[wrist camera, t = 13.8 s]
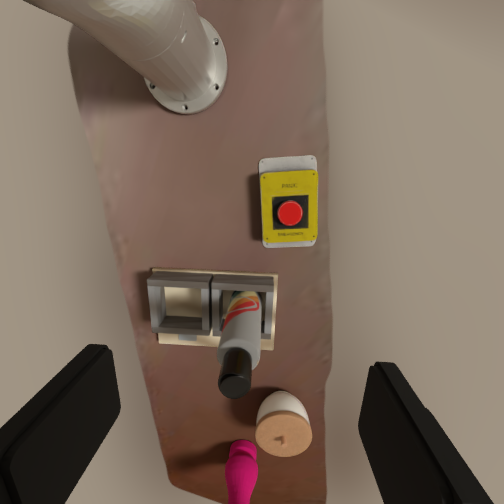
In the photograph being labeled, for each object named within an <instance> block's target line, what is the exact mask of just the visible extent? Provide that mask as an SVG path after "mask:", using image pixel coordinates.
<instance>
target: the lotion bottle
mask: <svg viewBox="0 0 504 504" xmlns="http://www.w3.org/2000/svg"><path fill="white" fill-rule="evenodd" d="M261 308H262V300H261V295H260V293H259V292H255V291H236V290H234V292H233V293H232V296H231V299H230V303H229V306H228V310H227V314H226V318H225V322H224V326H223V330H222V334H221V338H220V342H219V346H218V350H217V358H218V361H219V363H220V365H221V370H220V375H219V379H218V387H219V390H220V391H221V393H222V394H223V395H224V396H226V397H227V398H231V399H237V398H240V397H242V396H244V395H245V394H246V393H247V392H248V391H249V390H250V387H251V376H252V370H253V369H254V368H255V367H256V366H257V364H258V362H259V359H260V343H261Z"/></svg>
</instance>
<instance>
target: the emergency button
mask: <svg viewBox="0 0 504 504" xmlns="http://www.w3.org/2000/svg"><path fill="white" fill-rule="evenodd" d="M259 182H260V202H261V222H262V242H263V245H264V246H265V247H267V248H277V247H301V246H312V245H314V243H315V241H316V239H317V223H318V173H317V161H316V158H315V157H314V156H312V155H307V156H292V157H277V158H264V159H261V161H260V162H259Z"/></svg>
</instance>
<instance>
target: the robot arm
mask: <svg viewBox="0 0 504 504" xmlns="http://www.w3.org/2000/svg"><path fill="white" fill-rule="evenodd" d="M23 1H26V2H28V3H29V4H32V5H34V6H36V7H38V8H40V9H42V10H45V11H47V12H49V13H52V14H54V15H56V16H58V17H61V18H63V19H65V20H67V21H69V22H71V23H73V24H74V25H76V26H78V27H79V28H81V29H82V30H84V31H85V32H86V33H88V34H89V35H91V36H92V37H93V38H95V39H96V40H97V41H99V42H100V43H101V44H102V45H104V46H105V47H106V48H108V49H109V50H110V51H111V52H113V53H114V54H115V55H116V56H118V57H119V58H120V59H122V60H123V61H124V62H125V63H127V64H128V65H129V66H131V67H132V68H133V69H134V70H136V71H137V72H138V73H139V74H141V75H142V76H143V77H144V80H145V83H146V85H147V87H148V89H149V91H150V92H151V94H152V95H153V96H154V98H155V99H156V100H157V101H158V102H160V103H161V104H162V105H163V106H165V107H166V108H168V109H170V110H172V111H174V112H177V113H180V114H196V113H199V112H202V111H204V110H206V109H207V108H209V107H210V106H211V105H212V104H213V103H214V102H215V101H216V100H217V99H218V97H219V96H220V94H221V93H222V90H223V88H224V86H225V82H226V78H227V69H228V66H227V56H226V52H225V48H224V46H223V43H222V40H221V38H220V37H219V35H218V33H217V31H216V30H215V29H214V28H213V26H212V25H211V24H210V23H209V22H208V21H206V20H205V19H204V18H202V17H201V16H199V15H198V13H197V11H196V4H195V3H194V2H193V0H23ZM216 43H218V45H215V44H216ZM154 86H155V88H154ZM216 87H219V89H218V90H216ZM186 107H188V109H187V110H186V109H185V108H186ZM120 408H121V405H120V398H119V391H118V385H117V379H116V372H115V366H114V360H113V354H112V351H111V350H110V349H109V348H108V346H107V345H99V344H89V345H87V346H86V347H85V348H84V349H83V350H82V351H81V352H80V353H79V354H77V355H76V356H75V357H74V358H73V359H72V360H71V361H70V362H69V363H68V364H67V365H66V366H65V367H64V368H63V369H62V370H61V371H60V372H59V373H58V374H57V375H56V376H55V377H53V378H52V380H50V381H49V382H48V383H47V384H46V385H45V386H44V387H43V388H42V389H41V390H40V391H39V392H38V393H37V394H36V395H35V396H34V397H33V398H32V399H30V401H28V402H27V403H26V404H25V406H23V407H22V408H21V409H20V410H19V411H18V412H17V413H16V414H15V415H14V416H13V417H12V418H11V419H10V420H9V421H8V422H6V424H4V425H3V426H2V427H1V428H0V504H65V502H66V501H67V499H68V497H69V496H70V494H71V492H72V491H73V489H74V488H75V486H76V484H77V483H78V481H79V479H80V478H81V476H82V475H83V473H84V471H85V470H86V468H87V466H88V465H89V463H90V461H91V460H92V458H93V457H94V455H95V453H96V452H97V450H98V448H99V447H100V445H101V443H102V442H103V440H104V439H105V437H106V435H107V434H108V432H109V430H110V429H111V427H112V426H113V424H114V422H115V420H116V419H117V417H118V415H119V413H120ZM358 429H359V434H360V437H361V440H362V443H363V446H364V448H365V451H366V454H367V457H368V460H369V463H370V465H371V468H372V471H373V474H374V476H375V479H376V482H377V485H378V488H379V491H380V493H381V496H382V499H383V502H384V504H494V503H493V502H492V500H491V499H490V498H489V496H488V495H487V493H486V492H485V490H484V489H483V487H482V486H481V484H480V483H479V482H478V480H477V479H476V477H475V476H474V474H473V473H472V471H471V470H470V468H469V467H468V466H467V464H466V463H465V461H464V460H463V458H462V457H461V455H460V454H459V452H458V451H457V449H456V448H455V447H454V445H453V444H452V442H451V441H450V439H449V438H448V436H447V435H446V434H445V432H444V430H443V429H442V428H441V426H440V425H439V423H438V422H437V420H436V419H435V417H434V416H433V415H432V413H431V412H430V411H429V410H428V409H427V408H425V407H424V405H423V404H422V402H421V401H420V400H419V398H418V397H417V395H416V394H415V392H414V391H413V389H412V388H411V386H410V385H409V383H408V382H407V380H406V379H405V377H404V376H403V374H402V373H401V371H400V370H399V368H398V367H397V366H396V364H394V363H390V362H376V363H375V364H374V366H370V368H369V372H368V377H367V382H366V387H365V392H364V397H363V402H362V407H361V412H360V417H359V423H358Z"/></svg>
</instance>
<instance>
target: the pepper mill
mask: <svg viewBox="0 0 504 504" xmlns="http://www.w3.org/2000/svg"><path fill="white" fill-rule="evenodd" d="M256 451H257V450H256V447H255V445H254V444H253V443H251V442H250V441H247V440H238V441H235V442H234V443H232V445H231V447H230V453H229V457H230V458H229V459H228V461H227V463H226V466H225V478H226V483H227V488H228V496H229V499H228V504H249V501H250V497H251V493H252V490H253V488H254V486H255V483H256V480H257V476H258V466H257V463H256V461H255V460H256Z"/></svg>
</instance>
